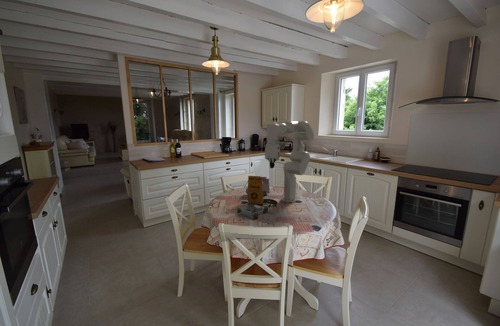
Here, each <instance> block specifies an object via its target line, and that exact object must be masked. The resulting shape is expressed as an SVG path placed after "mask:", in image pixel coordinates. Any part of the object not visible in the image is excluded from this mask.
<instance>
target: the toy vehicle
mask: <svg viewBox="0 0 500 326" xmlns="http://www.w3.org/2000/svg"><path fill="white" fill-rule="evenodd" d="M261 177H262V186H263V196H266V195H267V194H270V178H267V176H261ZM245 193H246V194H247V195H248V187H246V188H245Z"/></svg>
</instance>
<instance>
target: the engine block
mask: <svg viewBox="0 0 500 326" xmlns="http://www.w3.org/2000/svg"><path fill="white" fill-rule="evenodd" d="M254 205H255V204H253V205H251V204H250V205H248V204H247V206H245V208H244V210H247V211H250V212H252V214H253V213H255V212H256V207H255V206H254Z"/></svg>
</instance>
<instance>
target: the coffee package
mask: <svg viewBox="0 0 500 326" xmlns="http://www.w3.org/2000/svg"><path fill="white" fill-rule="evenodd" d="M262 177H263V176H262V175H260V176H259V175H248V176H247V178H248V179H247V180H248V181H247V188H248V194H247V204H248V203H249V202H251V203H252V204H253V205H259V206H261V205H262V204H264V195H263V186H262Z"/></svg>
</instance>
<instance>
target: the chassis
mask: <svg viewBox="0 0 500 326" xmlns="http://www.w3.org/2000/svg"><path fill="white" fill-rule="evenodd" d="M250 204H251V205H254V206H255V207H256V212H255V213H253V214H252V212H250V211H247V210H245V209H243V208H242V207H238V208H237V209H236V213H237V215H238V216H240V217H243V218H246V219H250V220H257V219H258V218H259V217H260V216H261V215H262V214H263V213H268V212H269V207H268V206H264V207H263V206H261V205H259V204H252V203H251V202H249V203H248V202H247V206H248V205H250Z"/></svg>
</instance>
